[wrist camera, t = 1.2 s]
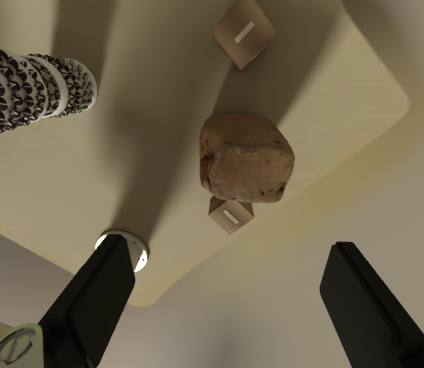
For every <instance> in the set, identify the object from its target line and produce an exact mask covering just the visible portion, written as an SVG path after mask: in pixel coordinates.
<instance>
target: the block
mask: <svg viewBox="0 0 424 368" xmlns="http://www.w3.org/2000/svg"><path fill="white" fill-rule="evenodd" d="M294 161H295V157H294V153H293V151H292V148H291V146H290V145H289V143H288V142H287V140H286V139H285V137H284V136H283V135H282V133H281V132H280V131H279V130H278V129H277V128H276V126H275V125H274V124H272V123H271V122H270V121H269V120H268V119H266V118H264V117H260V116H258V115H255V114H248V113H227V114H217V115H213V116H211V117H209V118H208V119H207V120H206V121H205V123H204V125H203V127H202V129H201V133H200V181H201V185H202V186H203V188H205V189H207V190H209V191H210V192H211V194H213V195H214V196H215V197H217V198H219V199H223V200H229V201H240V202H250V203H261V202H264V203H273V202H277V201H279V200H280V199H281V198H282V195H283V193H284V190H285V187H286V184H287V182H288V181H289V179H290V176H291V174H292V171H293V167H294Z"/></svg>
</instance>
